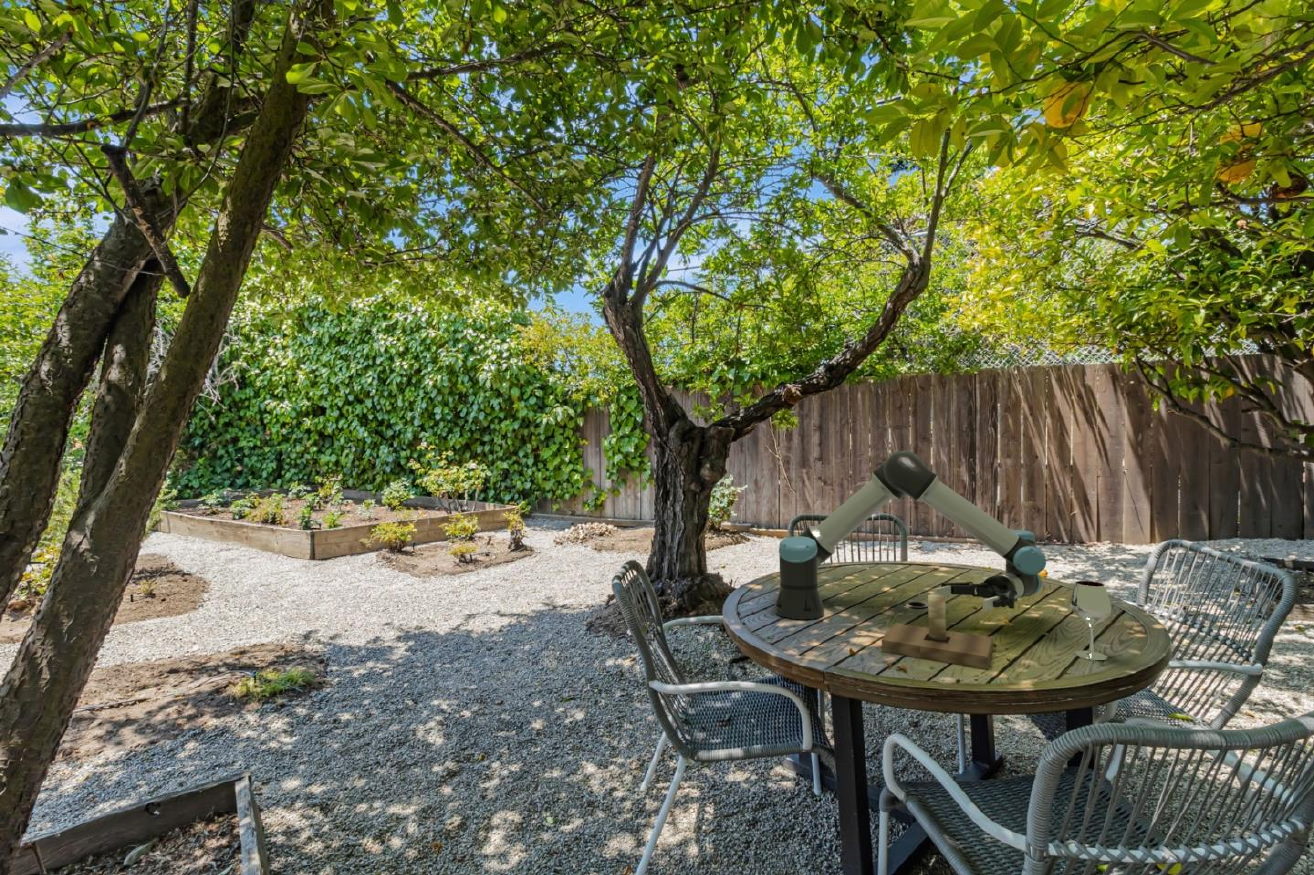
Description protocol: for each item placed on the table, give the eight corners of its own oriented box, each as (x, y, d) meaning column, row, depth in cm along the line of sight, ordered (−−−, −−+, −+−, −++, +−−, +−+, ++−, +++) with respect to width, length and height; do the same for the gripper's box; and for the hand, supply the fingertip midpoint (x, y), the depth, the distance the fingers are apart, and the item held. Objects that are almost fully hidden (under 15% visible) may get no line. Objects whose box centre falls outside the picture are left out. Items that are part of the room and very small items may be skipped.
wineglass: (1114, 655, 146) (1112, 582, 147) (1110, 665, 140) (1108, 589, 141) (1074, 648, 152) (1072, 578, 152) (1069, 657, 146) (1067, 584, 146)
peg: (927, 651, 152) (926, 596, 152) (930, 646, 156) (929, 593, 156) (945, 654, 150) (944, 599, 150) (947, 649, 153) (946, 595, 153)
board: (881, 651, 153) (881, 639, 153) (895, 633, 166) (894, 623, 166) (987, 669, 139) (987, 656, 139) (992, 648, 153) (992, 637, 153)
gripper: (1049, 612, 159) (1006, 625, 148) (961, 591, 180) (917, 602, 169) (1049, 584, 159) (1006, 595, 148) (960, 567, 180) (917, 576, 169)
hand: (958, 599), depth 159 cm, fingers open, 13 cm apart
